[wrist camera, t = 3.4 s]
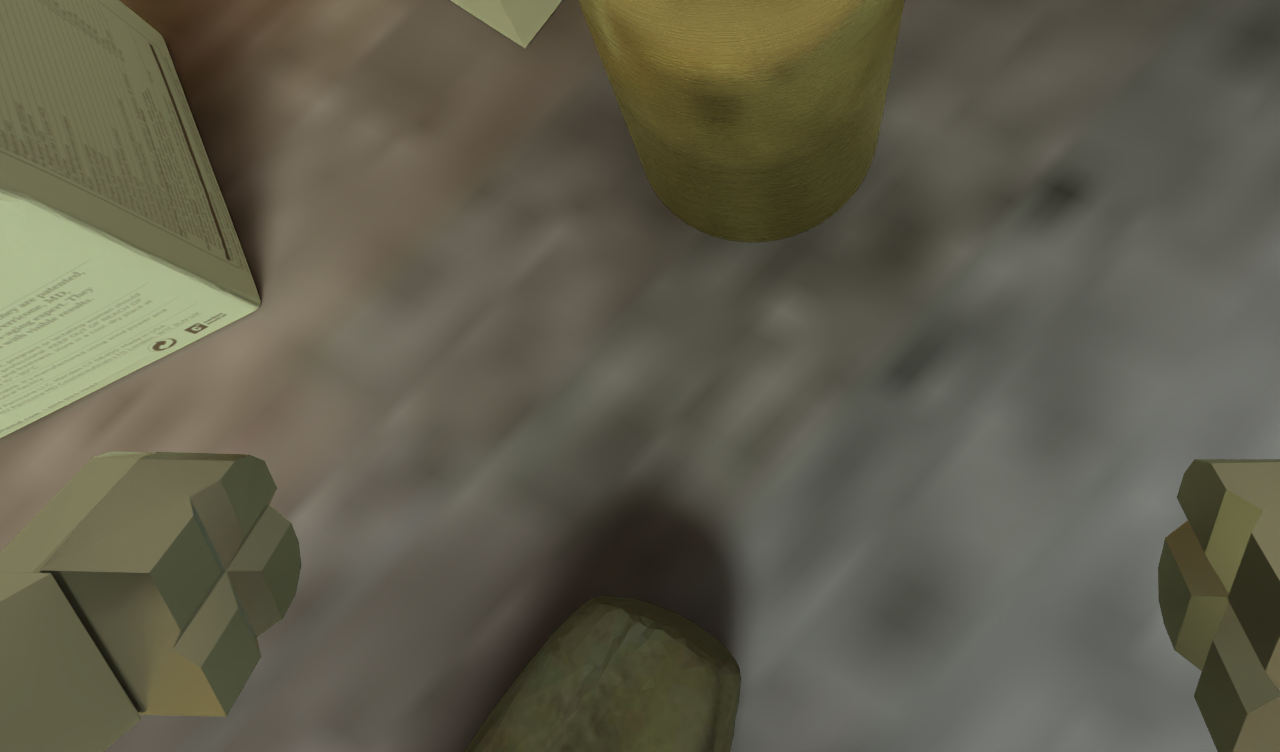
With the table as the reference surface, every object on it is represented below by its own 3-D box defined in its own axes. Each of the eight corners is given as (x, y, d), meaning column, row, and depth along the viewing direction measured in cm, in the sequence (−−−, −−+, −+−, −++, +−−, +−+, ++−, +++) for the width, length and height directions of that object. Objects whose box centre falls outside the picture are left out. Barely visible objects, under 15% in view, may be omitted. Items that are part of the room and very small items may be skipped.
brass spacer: (927, 95, 23) (1039, -301, 13) (783, 288, 23) (773, 51, 12) (730, -20, 25) (681, -462, 14) (592, 160, 24) (433, -152, 14)
